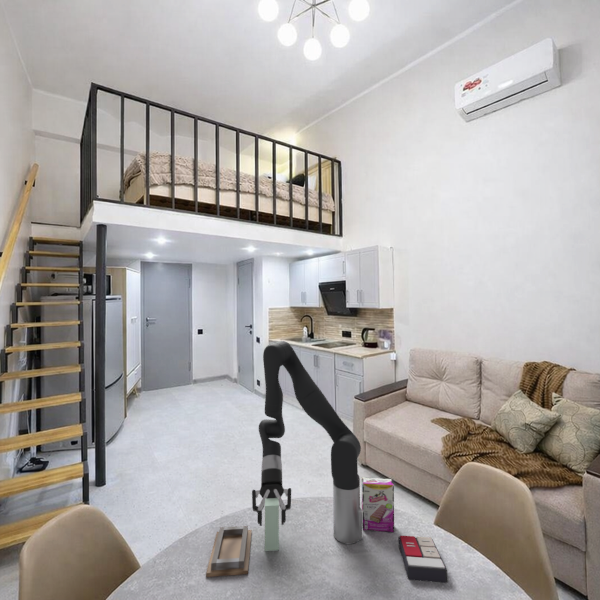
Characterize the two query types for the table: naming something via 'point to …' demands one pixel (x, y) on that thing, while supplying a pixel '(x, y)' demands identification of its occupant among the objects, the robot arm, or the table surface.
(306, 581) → the table surface
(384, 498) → the candy bar box
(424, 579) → the calculator
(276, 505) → the pale green angular block
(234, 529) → the track
